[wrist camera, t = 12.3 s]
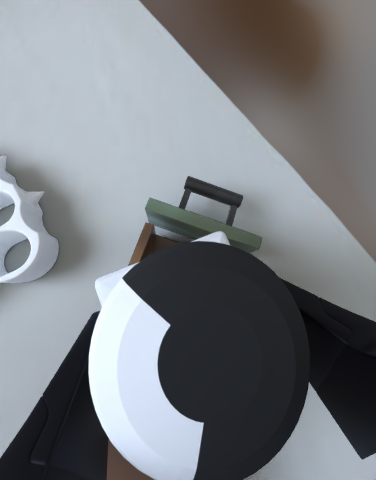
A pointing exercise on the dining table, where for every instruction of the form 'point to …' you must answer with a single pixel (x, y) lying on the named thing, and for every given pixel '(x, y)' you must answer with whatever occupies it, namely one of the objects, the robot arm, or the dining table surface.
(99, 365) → the medicine bottle
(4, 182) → the white brass knuckles
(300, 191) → the dining table surface
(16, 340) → the dining table surface
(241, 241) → the drawer
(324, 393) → the robot arm
